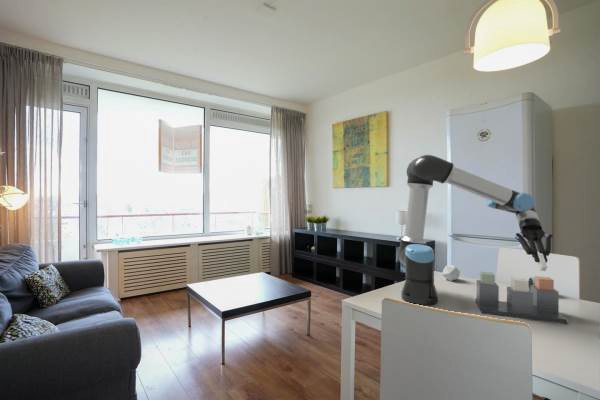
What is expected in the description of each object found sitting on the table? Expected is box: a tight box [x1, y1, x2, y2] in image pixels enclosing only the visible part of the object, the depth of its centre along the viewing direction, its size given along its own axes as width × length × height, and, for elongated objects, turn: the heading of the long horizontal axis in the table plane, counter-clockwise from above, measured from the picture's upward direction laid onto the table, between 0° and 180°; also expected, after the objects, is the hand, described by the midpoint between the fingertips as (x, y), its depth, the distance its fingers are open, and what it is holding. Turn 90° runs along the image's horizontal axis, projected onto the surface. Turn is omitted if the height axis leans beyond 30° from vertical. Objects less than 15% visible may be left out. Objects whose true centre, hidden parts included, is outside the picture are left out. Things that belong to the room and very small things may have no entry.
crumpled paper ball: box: [442, 264, 461, 282], centre depth 160 cm, size 8×9×10 cm
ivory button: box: [510, 276, 529, 292], centre depth 112 cm, size 4×4×8 cm
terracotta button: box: [534, 275, 555, 291], centre depth 114 cm, size 4×4×8 cm
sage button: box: [479, 271, 496, 285], centre depth 121 cm, size 4×4×8 cm
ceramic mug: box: [527, 277, 535, 291], centre depth 138 cm, size 10×8×7 cm
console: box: [475, 279, 568, 325], centre depth 115 cm, size 26×13×10 cm, turn 68°
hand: (543, 268), depth 114 cm, fingers closed
